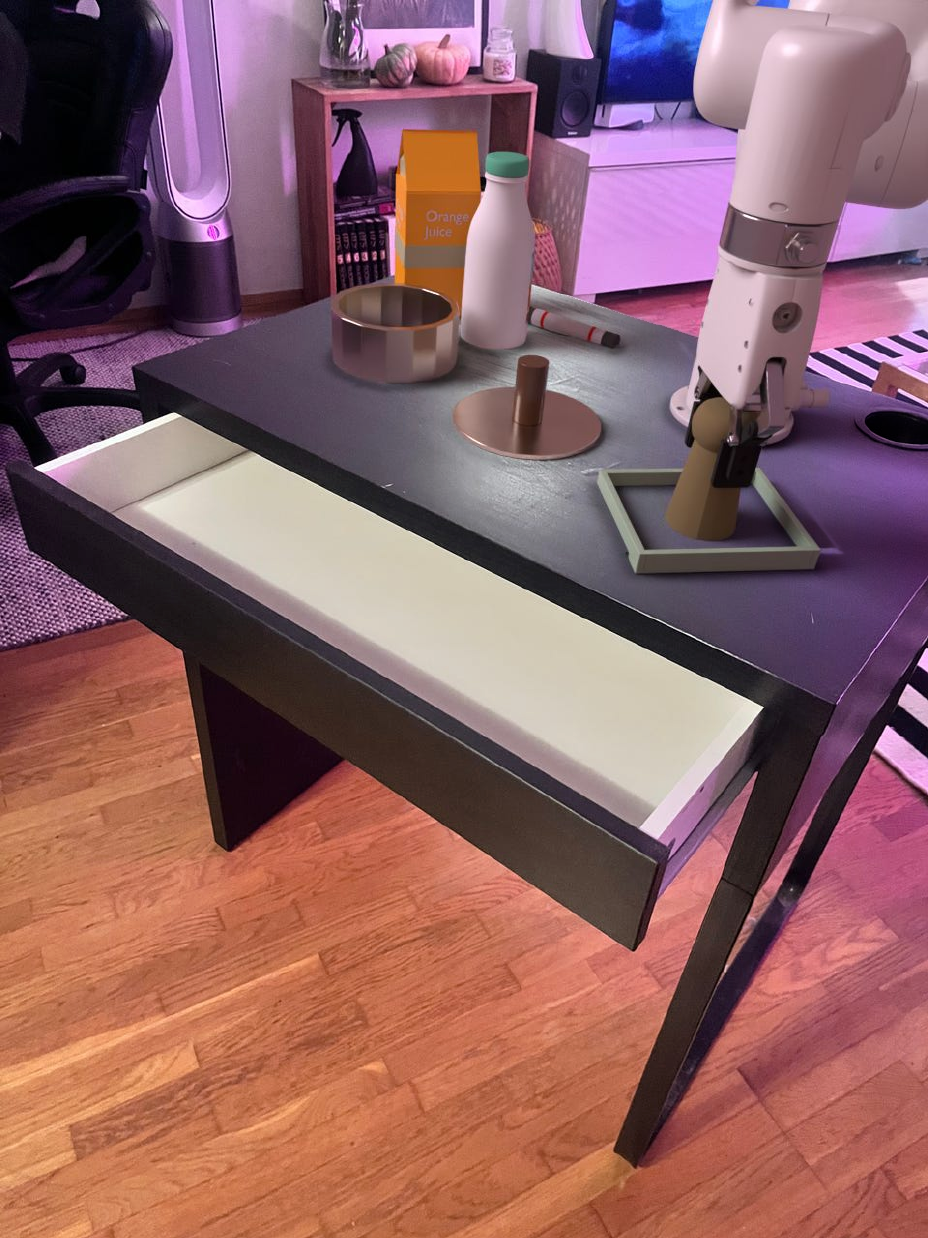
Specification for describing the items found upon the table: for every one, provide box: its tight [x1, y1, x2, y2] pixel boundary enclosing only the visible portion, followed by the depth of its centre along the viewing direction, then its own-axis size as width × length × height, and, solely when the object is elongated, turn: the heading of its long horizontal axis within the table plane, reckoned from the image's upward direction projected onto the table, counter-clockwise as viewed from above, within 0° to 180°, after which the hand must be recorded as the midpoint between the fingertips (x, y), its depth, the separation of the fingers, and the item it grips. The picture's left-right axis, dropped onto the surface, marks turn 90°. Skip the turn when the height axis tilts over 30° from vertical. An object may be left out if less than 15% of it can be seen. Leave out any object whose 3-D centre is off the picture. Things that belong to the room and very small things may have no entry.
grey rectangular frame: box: [596, 467, 822, 574], centre depth 78 cm, size 15×13×2 cm
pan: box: [330, 282, 461, 384], centre depth 100 cm, size 14×14×6 cm
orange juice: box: [394, 128, 482, 318], centre depth 109 cm, size 8×9×20 cm
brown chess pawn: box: [664, 397, 757, 542], centre depth 75 cm, size 6×6×11 cm
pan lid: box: [452, 354, 602, 461], centre depth 89 cm, size 15×15×7 cm
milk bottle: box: [460, 151, 536, 351], centre depth 102 cm, size 8×8×20 cm
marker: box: [528, 305, 621, 349], centre depth 111 cm, size 15×2×2 cm, turn 53°
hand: (716, 463), depth 75 cm, fingers open, 5 cm apart
